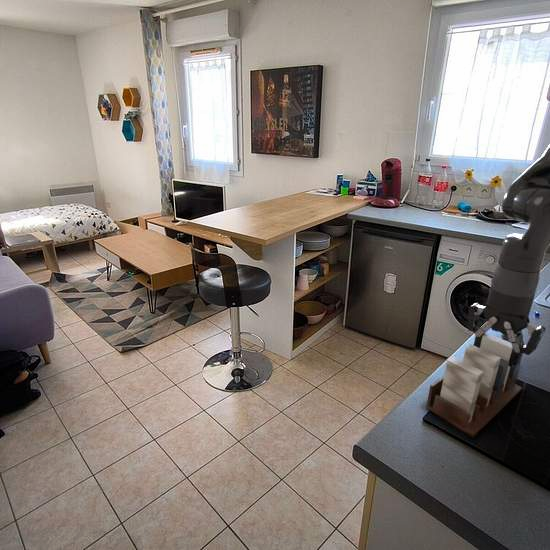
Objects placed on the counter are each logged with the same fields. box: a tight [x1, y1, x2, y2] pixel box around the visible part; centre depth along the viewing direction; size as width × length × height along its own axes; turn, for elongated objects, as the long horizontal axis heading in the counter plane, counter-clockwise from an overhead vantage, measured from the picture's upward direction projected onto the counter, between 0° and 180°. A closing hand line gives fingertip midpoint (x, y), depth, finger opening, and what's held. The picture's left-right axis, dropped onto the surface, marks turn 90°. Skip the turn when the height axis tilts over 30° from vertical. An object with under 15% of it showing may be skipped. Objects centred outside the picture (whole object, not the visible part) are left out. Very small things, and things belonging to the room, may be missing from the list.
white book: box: [480, 332, 513, 392], centre depth 79 cm, size 6×2×12 cm, turn 37°
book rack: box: [425, 344, 524, 438], centre depth 76 cm, size 10×22×13 cm, turn 127°
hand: (494, 357), depth 78 cm, fingers open, 6 cm apart
